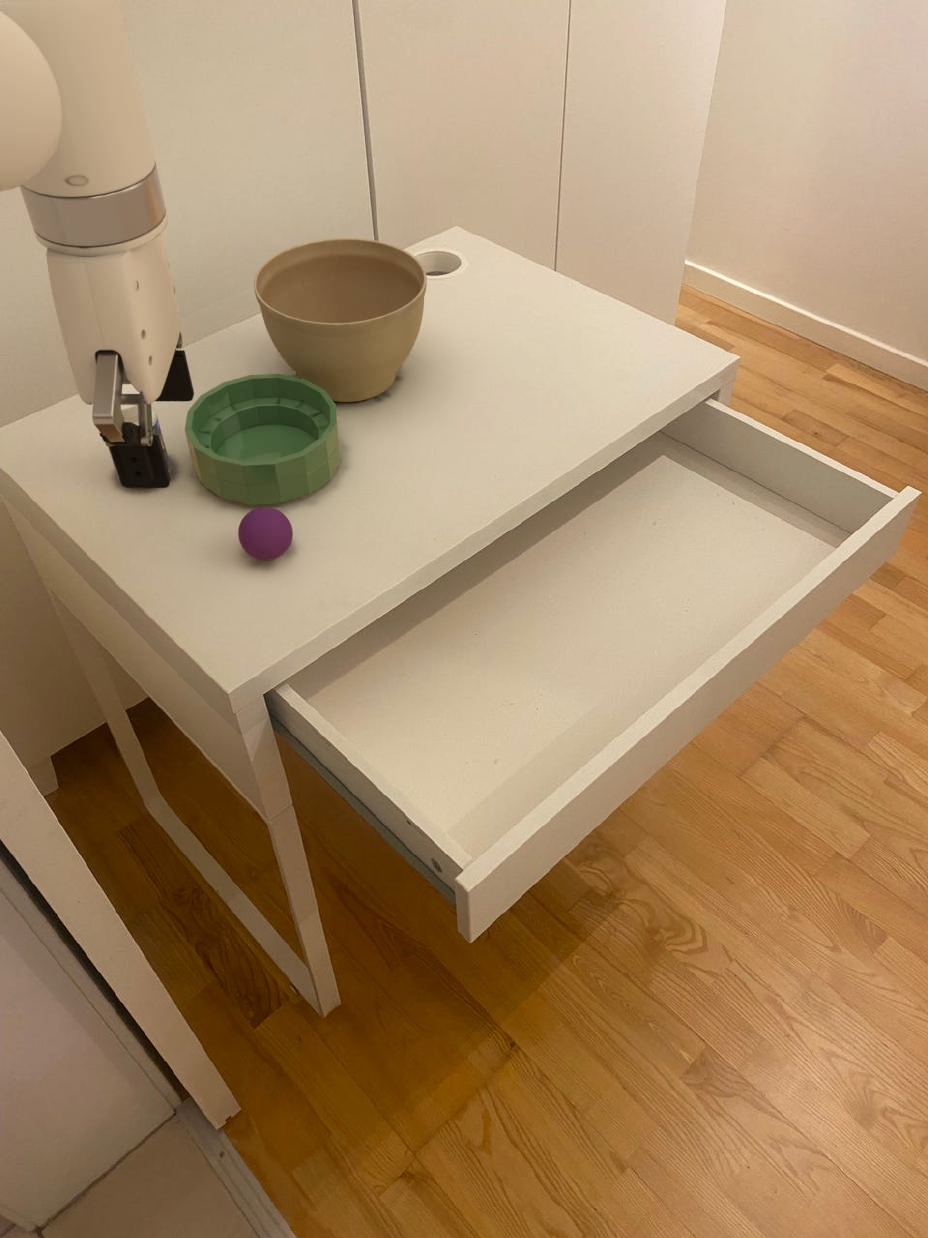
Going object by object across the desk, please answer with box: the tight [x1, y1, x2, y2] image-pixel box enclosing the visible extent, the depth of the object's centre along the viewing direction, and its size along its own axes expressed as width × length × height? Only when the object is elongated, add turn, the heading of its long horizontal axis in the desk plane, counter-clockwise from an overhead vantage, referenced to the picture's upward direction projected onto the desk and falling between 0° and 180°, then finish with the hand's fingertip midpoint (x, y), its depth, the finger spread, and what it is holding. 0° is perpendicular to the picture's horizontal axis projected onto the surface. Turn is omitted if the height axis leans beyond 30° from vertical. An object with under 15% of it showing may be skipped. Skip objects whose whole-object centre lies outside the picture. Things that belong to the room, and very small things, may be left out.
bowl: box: [184, 373, 342, 506], centre depth 87 cm, size 13×13×5 cm
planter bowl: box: [253, 237, 428, 403], centre depth 94 cm, size 16×16×11 cm
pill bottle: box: [107, 384, 171, 481], centre depth 84 cm, size 5×5×8 cm
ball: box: [237, 506, 294, 561], centre depth 79 cm, size 4×4×4 cm
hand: (160, 440), depth 68 cm, fingers open, 9 cm apart
